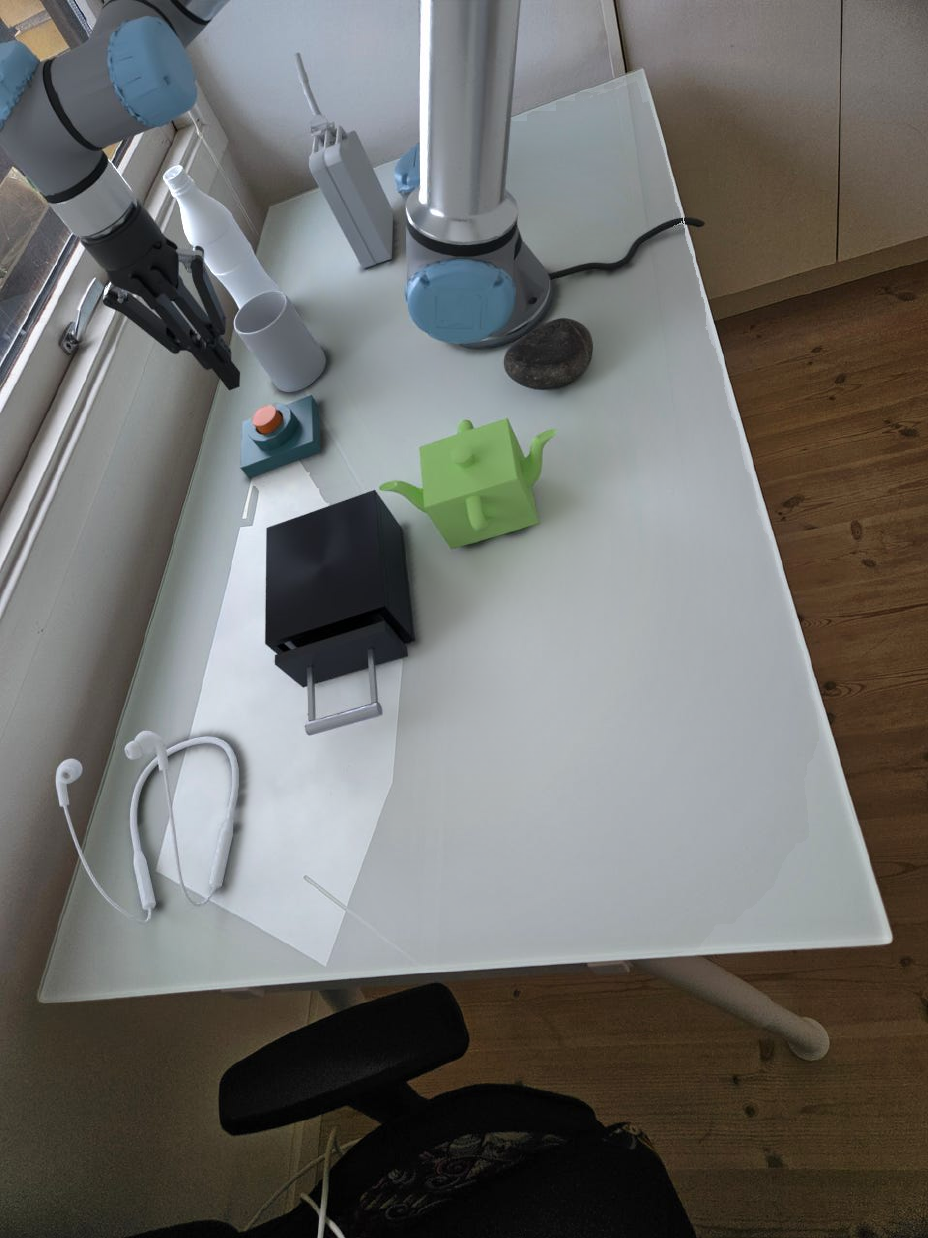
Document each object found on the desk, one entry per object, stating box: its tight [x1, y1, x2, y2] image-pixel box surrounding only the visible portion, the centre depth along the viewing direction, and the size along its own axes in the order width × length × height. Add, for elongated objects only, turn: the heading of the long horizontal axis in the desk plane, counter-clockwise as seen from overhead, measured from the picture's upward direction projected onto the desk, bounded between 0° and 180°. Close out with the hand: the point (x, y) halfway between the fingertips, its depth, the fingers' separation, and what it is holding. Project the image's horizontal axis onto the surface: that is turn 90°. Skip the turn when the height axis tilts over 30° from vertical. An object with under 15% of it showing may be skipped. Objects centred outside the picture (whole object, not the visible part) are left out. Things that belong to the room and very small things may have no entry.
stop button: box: [251, 404, 282, 434], centre depth 109 cm, size 4×4×2 cm
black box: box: [264, 489, 416, 655], centre depth 91 cm, size 16×14×8 cm
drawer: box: [274, 613, 409, 736], centre depth 87 cm, size 22×13×6 cm, turn 7°
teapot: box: [378, 418, 558, 550], centre depth 89 cm, size 15×13×11 cm
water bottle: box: [162, 164, 283, 311], centre depth 118 cm, size 7×7×25 cm
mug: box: [233, 290, 327, 393], centre depth 115 cm, size 12×8×11 cm
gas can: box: [292, 52, 394, 269], centre depth 119 cm, size 15×5×25 cm, turn 1°
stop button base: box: [239, 394, 322, 479], centre depth 111 cm, size 11×9×4 cm
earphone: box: [55, 730, 240, 925], centre depth 84 cm, size 14×17×18 cm
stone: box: [503, 317, 594, 391], centre depth 99 cm, size 11×11×5 cm
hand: (234, 381), depth 103 cm, fingers closed
